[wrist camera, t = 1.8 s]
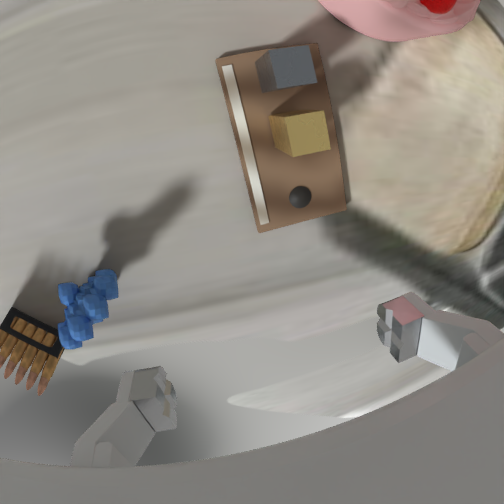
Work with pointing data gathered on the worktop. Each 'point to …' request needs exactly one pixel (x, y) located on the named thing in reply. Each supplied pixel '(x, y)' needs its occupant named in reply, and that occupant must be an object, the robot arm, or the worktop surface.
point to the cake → (403, 17)
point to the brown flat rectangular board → (272, 159)
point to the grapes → (85, 307)
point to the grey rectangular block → (285, 68)
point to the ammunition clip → (29, 348)
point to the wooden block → (300, 132)
